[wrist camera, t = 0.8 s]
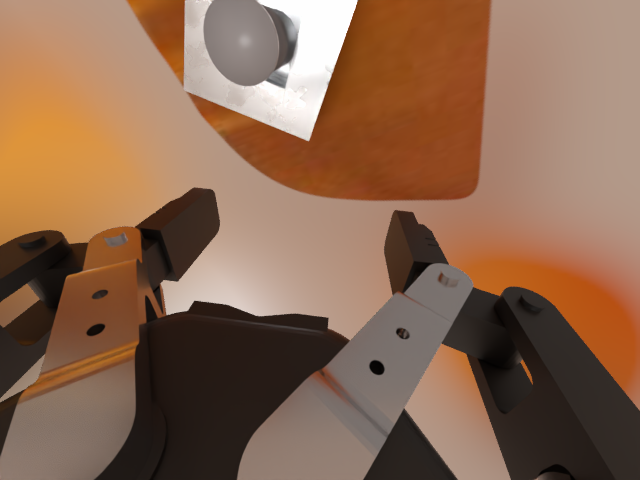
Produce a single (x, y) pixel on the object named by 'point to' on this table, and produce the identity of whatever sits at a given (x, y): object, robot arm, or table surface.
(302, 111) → the housing
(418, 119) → the table surface
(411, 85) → the table surface
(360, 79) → the table surface
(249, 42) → the gray cylinder
